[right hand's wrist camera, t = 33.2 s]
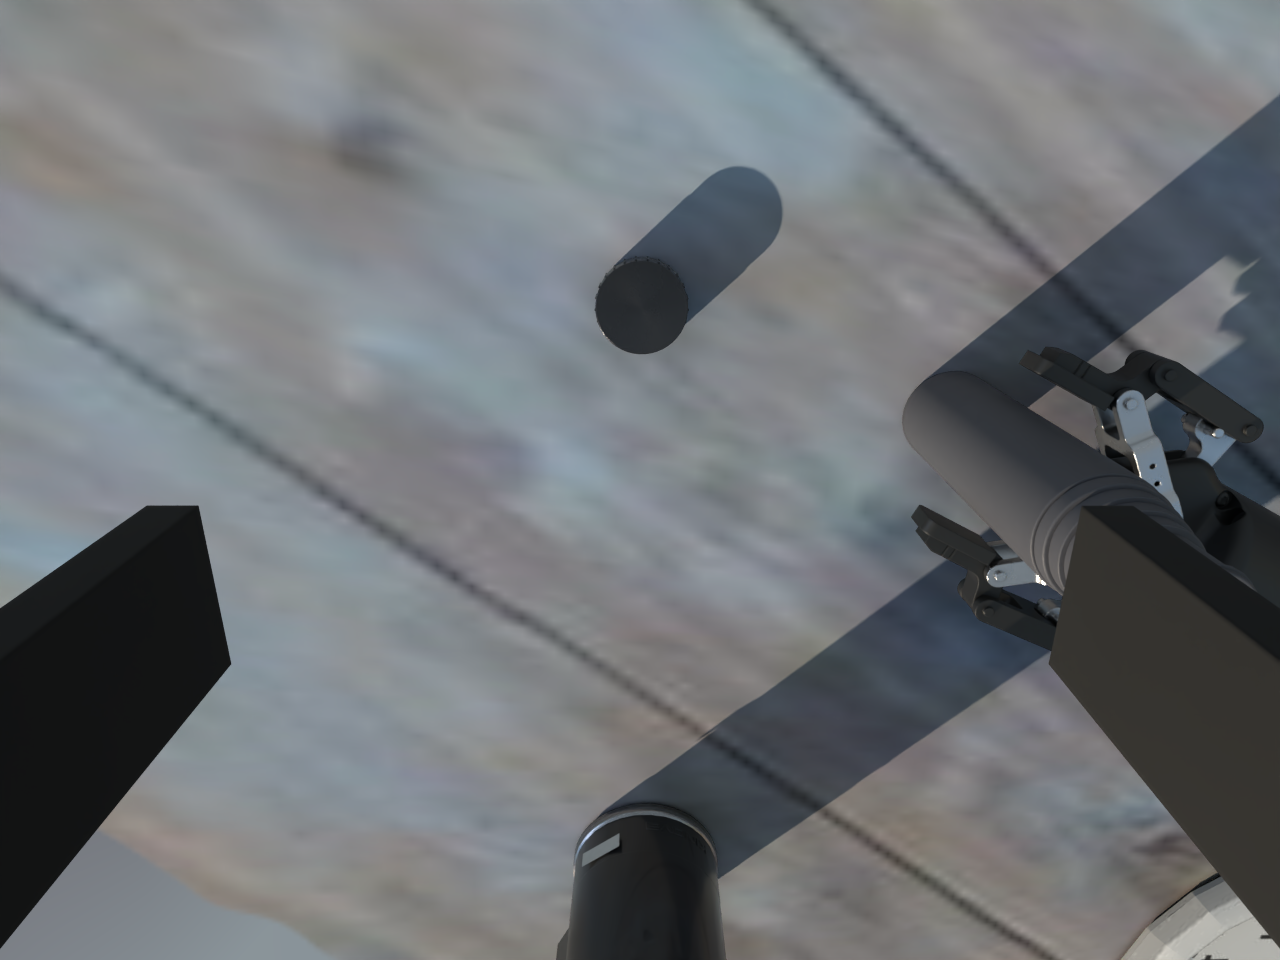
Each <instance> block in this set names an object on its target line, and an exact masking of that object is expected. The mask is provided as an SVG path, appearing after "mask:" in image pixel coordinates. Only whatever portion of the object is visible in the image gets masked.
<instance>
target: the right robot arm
mask: <svg viewBox="0 0 1280 960" xmlns="http://www.w3.org/2000/svg"><path fill="white" fill-rule="evenodd" d="M230 665H231V660H230V656H229V651H228V646H227V641H226V636H225V631H224V627H223V622H222V617H221V612H220V607H219V603H218V598H217V593H216V588H215V583H214V578H213V574H212V569H211V564H210V559H209V554H208V549H207V545H206V540H205V535H204V530H203V525H202V521H201V516H200V511H199V506H146V507H144V508H143V509H141V510H140V511H139V512H137V513H136V514H134V515H133V516H131V517H130V518H129V519H127V520H126V521H124V522H123V523H121V524H120V525H119V526H117V527H116V528H114V529H113V530H111V531H110V532H109V533H107V534H106V535H104V536H103V537H101V538H100V539H99V540H97V541H96V542H94V543H93V544H91V545H90V546H89V547H87V548H86V549H84V550H83V551H81V552H80V553H79V554H77V555H76V556H74V557H73V558H71V559H70V560H69V561H67V562H66V563H64V564H63V565H61V566H60V567H59V568H57V569H56V570H54V571H53V572H51V573H50V574H49V575H47V576H46V577H44V578H43V579H41V580H40V581H39V582H37V583H36V584H34V585H33V586H31V587H30V588H29V589H27V590H26V591H24V592H23V593H21V594H20V595H19V596H17V597H16V598H14V599H13V600H11V601H10V602H9V603H7V604H6V605H4V606H3V607H1V608H0V948H1V947H2V946H3V945H4V943H5V942H6V941H7V940H8V938H9V937H10V936H11V935H12V934H13V932H14V931H15V930H16V929H17V927H18V926H19V925H20V924H21V922H22V921H23V920H24V919H25V918H26V916H27V915H28V914H29V913H30V911H31V910H32V909H33V908H34V906H35V905H36V904H37V903H38V902H39V900H40V899H41V898H42V897H43V895H44V894H45V893H46V892H47V890H48V889H49V888H50V887H51V885H52V884H53V883H54V882H55V881H56V879H57V878H58V877H59V876H60V874H61V873H62V872H63V871H64V869H65V868H66V867H67V866H68V865H69V863H70V862H71V861H72V860H73V858H74V857H75V856H76V855H77V853H78V852H79V851H80V850H81V848H82V847H83V846H84V845H85V844H86V842H87V841H88V840H89V839H90V837H91V836H92V835H93V834H94V833H95V831H96V830H97V829H98V828H99V826H100V825H101V824H102V823H103V821H104V820H105V819H106V818H107V816H108V815H109V814H110V813H111V812H112V810H113V809H114V808H115V807H116V805H117V804H118V803H119V802H120V800H121V799H122V798H123V797H124V796H125V794H126V793H127V792H128V791H129V789H130V788H131V787H132V786H133V784H134V783H135V782H136V781H137V780H138V778H139V777H140V776H141V775H142V773H143V772H144V771H145V770H146V768H147V767H148V766H149V765H150V764H151V762H152V761H153V760H154V759H155V757H156V756H157V755H158V754H159V752H160V751H161V750H162V749H163V747H164V746H165V745H166V744H167V743H168V741H169V740H170V739H171V738H172V736H173V735H174V734H175V733H176V731H177V730H178V729H179V728H180V727H181V725H182V724H183V723H184V722H185V720H186V719H187V718H188V717H189V715H190V714H191V713H192V712H193V711H194V709H195V708H196V707H197V706H198V704H199V703H200V702H201V701H202V699H203V698H204V697H205V696H206V695H207V693H208V692H209V691H210V690H211V688H212V687H213V686H214V685H215V683H216V682H217V681H218V680H219V678H220V677H221V676H222V675H223V674H224V672H225V671H226V670H227V669H228V667H229V666H230ZM1049 665H1050V666H1051V667H1052V669H1053V670H1054V671H1055V672H1056V674H1057V675H1058V676H1059V677H1060V678H1061V680H1062V681H1063V682H1064V683H1065V685H1066V686H1067V687H1068V688H1069V690H1070V691H1071V692H1072V693H1073V695H1074V696H1075V697H1076V698H1077V699H1078V701H1079V702H1080V703H1081V704H1082V706H1083V707H1084V708H1085V709H1086V711H1087V712H1088V713H1089V714H1090V715H1091V717H1092V718H1093V719H1094V720H1095V722H1096V723H1097V724H1098V725H1099V727H1100V728H1101V729H1102V730H1103V731H1104V733H1105V734H1106V735H1107V736H1108V738H1109V739H1110V740H1111V741H1112V743H1113V744H1114V745H1115V746H1116V747H1117V749H1118V750H1119V751H1120V752H1121V754H1122V755H1123V756H1124V757H1125V759H1126V760H1127V761H1128V762H1129V764H1130V765H1131V766H1132V767H1133V768H1134V770H1135V771H1136V772H1137V773H1138V775H1139V776H1140V777H1141V778H1142V780H1143V781H1144V782H1145V783H1146V784H1147V786H1148V787H1149V788H1150V789H1151V791H1152V792H1153V793H1154V794H1155V796H1156V797H1157V798H1158V799H1159V800H1160V802H1161V803H1162V804H1163V805H1164V807H1165V808H1166V809H1167V810H1168V812H1169V813H1170V814H1171V815H1172V816H1173V818H1174V819H1175V820H1176V821H1177V823H1178V824H1179V825H1180V826H1181V828H1182V829H1183V830H1184V831H1185V833H1186V834H1187V835H1188V836H1189V837H1190V839H1191V840H1192V841H1193V842H1194V844H1195V845H1196V846H1197V847H1198V849H1199V850H1200V851H1201V852H1202V853H1203V855H1204V856H1205V857H1206V858H1207V860H1208V861H1209V862H1210V863H1211V865H1212V866H1213V867H1214V868H1215V869H1216V871H1217V872H1218V873H1219V874H1220V876H1221V877H1222V878H1223V879H1224V881H1225V882H1226V883H1227V884H1228V885H1229V887H1230V888H1231V889H1232V890H1233V892H1234V893H1235V894H1236V895H1237V897H1238V898H1239V899H1240V900H1241V902H1242V903H1243V904H1244V905H1245V906H1246V908H1247V909H1248V910H1249V911H1250V913H1251V914H1252V915H1253V916H1254V918H1255V919H1256V920H1257V921H1258V922H1259V924H1260V925H1261V926H1262V927H1263V929H1264V930H1265V931H1266V932H1267V934H1268V935H1269V936H1270V937H1271V938H1272V940H1273V941H1274V942H1275V943H1276V945H1277V946H1278V947H1279V948H1280V608H1279V607H1277V606H1276V605H1274V604H1273V603H1271V602H1270V601H1269V600H1267V599H1266V598H1264V597H1263V596H1261V595H1260V594H1259V593H1257V592H1256V591H1254V590H1253V589H1251V588H1250V587H1249V586H1247V585H1246V584H1244V583H1243V582H1241V581H1240V580H1239V579H1237V578H1236V577H1234V576H1233V575H1231V574H1230V573H1229V572H1227V571H1226V570H1224V569H1223V568H1221V567H1220V566H1219V565H1217V564H1216V563H1214V562H1213V561H1211V560H1210V559H1209V558H1207V557H1206V556H1204V555H1203V554H1201V553H1200V552H1199V551H1197V550H1196V549H1194V548H1193V547H1191V546H1190V545H1189V544H1187V543H1186V542H1184V541H1183V540H1181V539H1180V538H1179V537H1177V536H1176V535H1174V534H1173V533H1171V532H1170V531H1169V530H1167V529H1166V528H1164V527H1163V526H1161V525H1160V524H1159V523H1157V522H1156V521H1154V520H1153V519H1151V518H1150V517H1149V516H1147V515H1146V514H1144V513H1143V512H1141V511H1140V510H1139V509H1137V508H1136V507H1134V506H1081V511H1080V516H1079V521H1078V525H1077V530H1076V535H1075V540H1074V545H1073V549H1072V554H1071V559H1070V564H1069V569H1068V574H1067V578H1066V583H1065V588H1064V593H1063V598H1062V603H1061V607H1060V612H1059V617H1058V622H1057V627H1056V631H1055V636H1054V641H1053V646H1052V651H1051V656H1050V660H1049Z"/></svg>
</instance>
